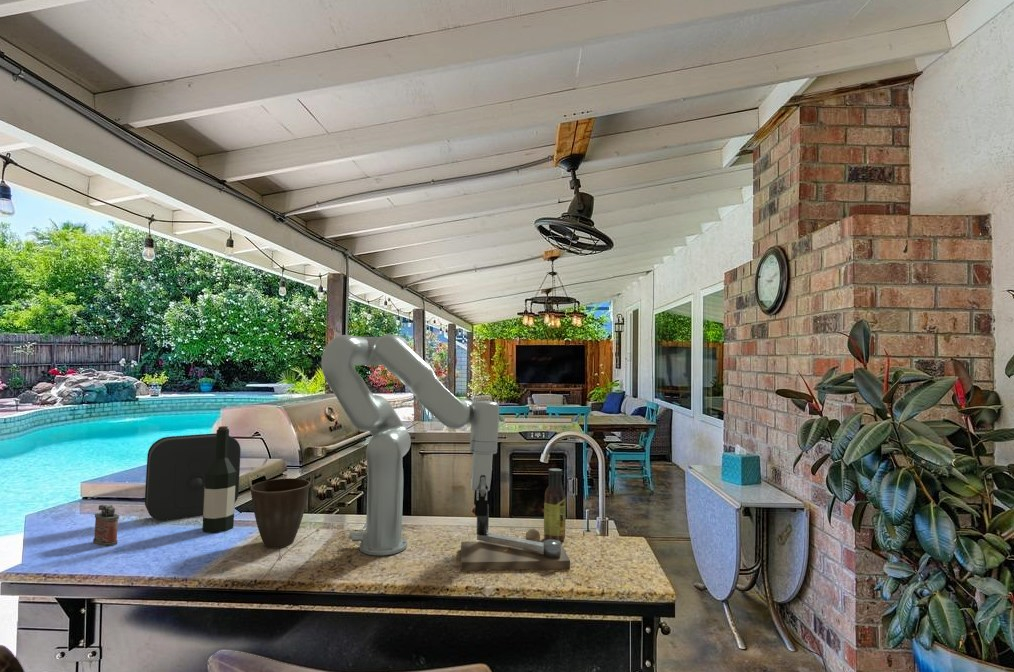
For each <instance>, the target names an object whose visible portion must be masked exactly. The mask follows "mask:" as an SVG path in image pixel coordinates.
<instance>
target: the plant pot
mask: <svg viewBox="0 0 1014 672" xmlns="http://www.w3.org/2000/svg"><path fill="white" fill-rule="evenodd" d="M310 486H311V482H310V481H309V480H307V479H303V478H294V477H292V478H291V477H290V478H289V477H288V478H278V479H277V478H275V479H268V480H264V481H260V482H256V483H254V484H253V485H252V486H250V495H251V502H252V508H253V513H254V518H255V522H256V526H257V529H258V532H259V534H260V535H259V536H260V538H261V541H262V543H263V545H264V548H265V547H266V548H268V549H279V548H280V549H281V548H285V547H288V546H291V545H292V544H293V543H294V541H295V538H296V537H297V534H298V531H299V530H300V526H301V524H302V520H303V517H304V513H305V510H306V506H307V501H308V496H309V493H310Z"/></svg>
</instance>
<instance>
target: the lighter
mask: <svg viewBox="0 0 1014 672" xmlns="http://www.w3.org/2000/svg"><path fill="white" fill-rule="evenodd" d="M115 509H116V508H115V507H113V505H112V504H110V505H107V504H99V505H98V510H99V511H100V512H98V513H95V514H94V518H95V521H94V522H95V523H94V524H95V525H94V538H93V540H92V543H93V544H95V545H97V546H100V547H106V548H109V547H114V546H117V545H118V528H119V527H118V525H119V524H118V523H119V519H120V515H119V514H117V513H115V512H116V510H115Z"/></svg>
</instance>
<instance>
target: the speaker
mask: <svg viewBox="0 0 1014 672" xmlns="http://www.w3.org/2000/svg"><path fill="white" fill-rule="evenodd" d="M216 433H217V432H215V433H202V434H189V435H188V434H187V435H184V434H183V435H173V436H164V437H161V438H159V439H157V440H156V441H155V442H153V443H152V445H151V446H150V447H149V449H148V451H147V455H146V472H145V474H146V475H145V491H144V492H145V493H144V495H145V496H144V505H145V508H146V510H147V513H148V514H149V516H150V517H151V518H153V519H154V520H156V521H159V522H168V521H174V520H175V521H177V520H182V519H188V518H193V517H201V516H203V508H204V489H205V472H206V471H207V469H208V468H209V466H210V465H211V463H212V462H213V460H214V459H215V453H216ZM241 450H242V449H241V445H240V443H239V441H238V440H237V439H235V438H234V437H232V436H230V435H229V442H228V459H229V461H230V462H231V464H232V466H233V467H234V469H235V471H236V483H235V503H236V502H237V500H238V498H239V490H240V489H239V488H240V476H241V475H240V474H241V473H240V469H241V467H240V466H241Z"/></svg>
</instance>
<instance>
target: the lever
mask: <svg viewBox="0 0 1014 672" xmlns="http://www.w3.org/2000/svg"><path fill="white" fill-rule="evenodd" d="M489 509H490V506H489V504H488V506H487V516H476V540H477V541H486V542H491V543H497V544H502V545H507V546H512V547H518V548H523V549H528V550H533V551H539V552H543V555H544V556H546V557H549V558H557V557H560V556H561V545H562V541H558V540H553V539H549V540H546V539H545V540H543V541H544V543H542V542H537V541H531V540H526V538H520V537H515V536H509V535H503V534H497V533H492V532H491V533H490V532H489V521H490V520H489V519H490V518H489V516H490V515H489V514H490V513H489V512H490V510H489Z"/></svg>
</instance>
